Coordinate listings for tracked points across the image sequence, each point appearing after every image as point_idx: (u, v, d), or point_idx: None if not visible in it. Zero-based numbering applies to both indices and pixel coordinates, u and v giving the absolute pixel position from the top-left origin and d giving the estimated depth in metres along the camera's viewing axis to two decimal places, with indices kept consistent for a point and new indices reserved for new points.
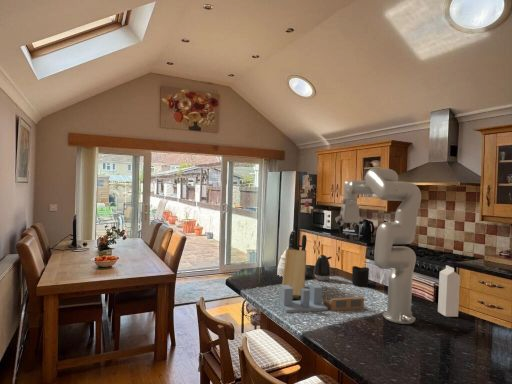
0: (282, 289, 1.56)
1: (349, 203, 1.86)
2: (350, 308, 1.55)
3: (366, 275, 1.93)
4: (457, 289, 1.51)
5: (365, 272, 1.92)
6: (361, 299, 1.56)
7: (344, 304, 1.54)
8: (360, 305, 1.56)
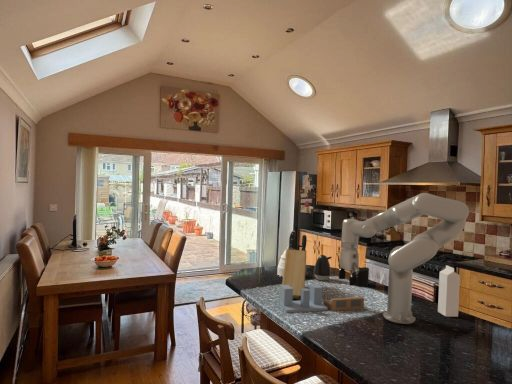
0: (282, 289, 1.56)
1: (357, 247, 1.54)
2: (350, 308, 1.55)
3: (366, 275, 1.93)
4: (457, 289, 1.51)
5: (365, 272, 1.92)
6: (361, 299, 1.56)
7: (344, 304, 1.54)
8: (360, 305, 1.56)
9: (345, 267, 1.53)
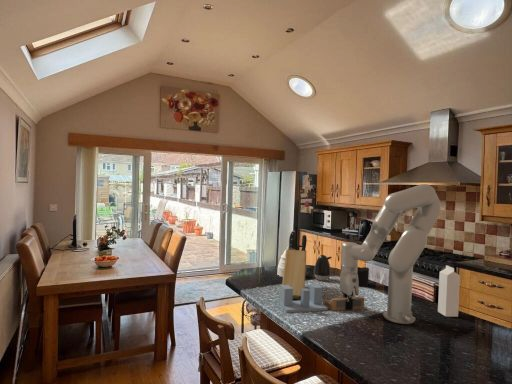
0: (282, 289, 1.56)
1: None
2: None
3: (366, 275, 1.93)
4: (457, 289, 1.51)
5: (365, 272, 1.92)
6: (361, 299, 1.56)
7: (344, 304, 1.54)
8: (360, 305, 1.56)
9: (346, 291, 1.53)
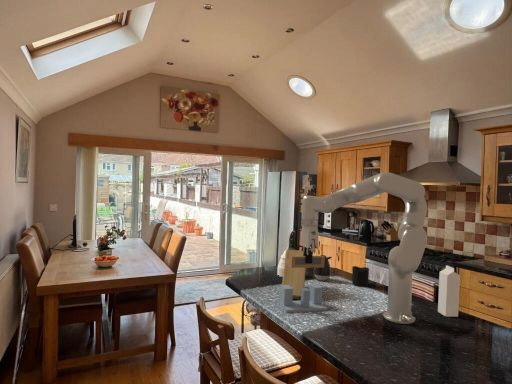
0: (282, 289, 1.56)
1: (317, 224, 1.52)
2: (310, 266, 1.53)
3: (366, 275, 1.93)
4: (457, 289, 1.51)
5: (365, 272, 1.92)
6: (321, 257, 1.54)
7: (304, 262, 1.52)
8: (320, 263, 1.54)
9: (305, 244, 1.51)
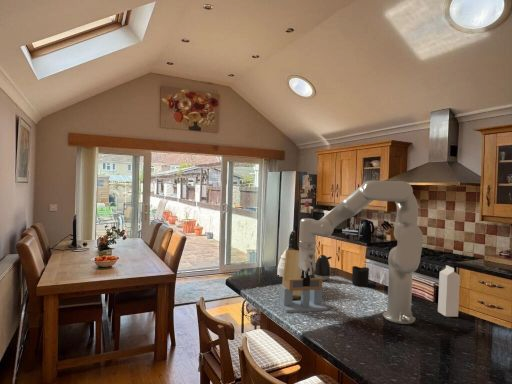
0: (282, 289, 1.56)
1: None
2: (308, 288, 1.53)
3: (366, 275, 1.93)
4: (457, 289, 1.51)
5: (365, 272, 1.92)
6: (319, 279, 1.54)
7: (301, 284, 1.52)
8: (318, 286, 1.54)
9: (303, 268, 1.51)
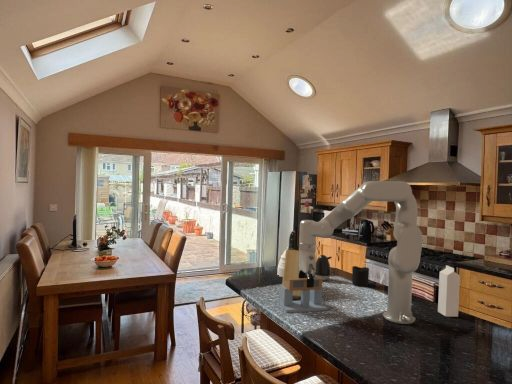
0: (282, 289, 1.56)
1: None
2: (308, 288, 1.53)
3: (366, 275, 1.93)
4: (457, 289, 1.51)
5: (365, 272, 1.92)
6: (319, 279, 1.54)
7: (301, 284, 1.52)
8: (318, 286, 1.54)
9: (303, 269, 1.51)
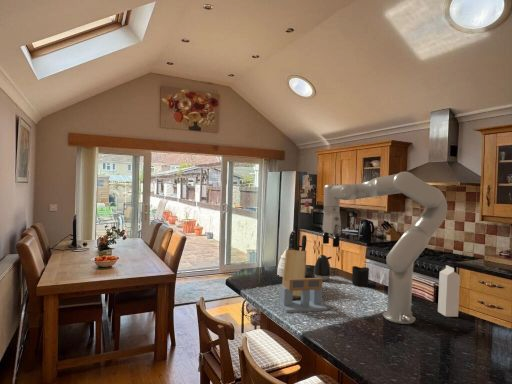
0: (282, 289, 1.56)
1: None
2: (308, 288, 1.53)
3: (366, 275, 1.93)
4: (457, 289, 1.51)
5: (365, 272, 1.92)
6: (319, 279, 1.54)
7: (301, 284, 1.52)
8: (318, 286, 1.54)
9: (329, 230, 1.60)
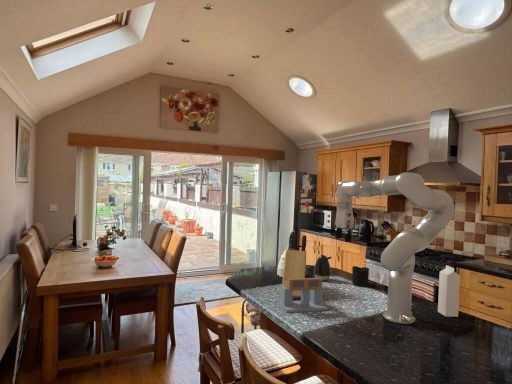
0: (282, 289, 1.56)
1: None
2: (308, 288, 1.53)
3: (366, 275, 1.93)
4: (457, 289, 1.51)
5: (365, 272, 1.92)
6: (319, 279, 1.54)
7: (301, 284, 1.52)
8: (318, 286, 1.54)
9: (341, 226, 1.65)
